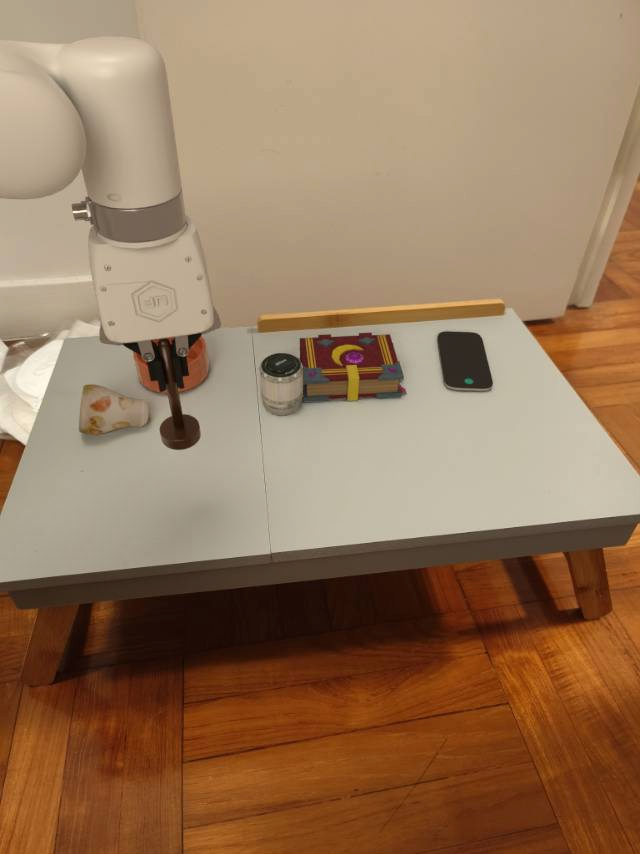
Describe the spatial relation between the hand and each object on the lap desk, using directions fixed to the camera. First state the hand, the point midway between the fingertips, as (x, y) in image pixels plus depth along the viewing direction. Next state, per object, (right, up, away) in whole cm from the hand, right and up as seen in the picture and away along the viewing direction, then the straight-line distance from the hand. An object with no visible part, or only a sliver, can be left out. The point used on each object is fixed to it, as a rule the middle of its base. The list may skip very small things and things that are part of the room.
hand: (170, 381), depth 64 cm
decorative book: (+21, +3, +34) cm, 40 cm away
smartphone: (+39, +6, +37) cm, 54 cm away
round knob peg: (0, -6, +6) cm, 8 cm away
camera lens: (+10, -1, +29) cm, 31 cm away
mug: (-14, -5, +26) cm, 29 cm away
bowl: (-8, +4, +34) cm, 35 cm away
